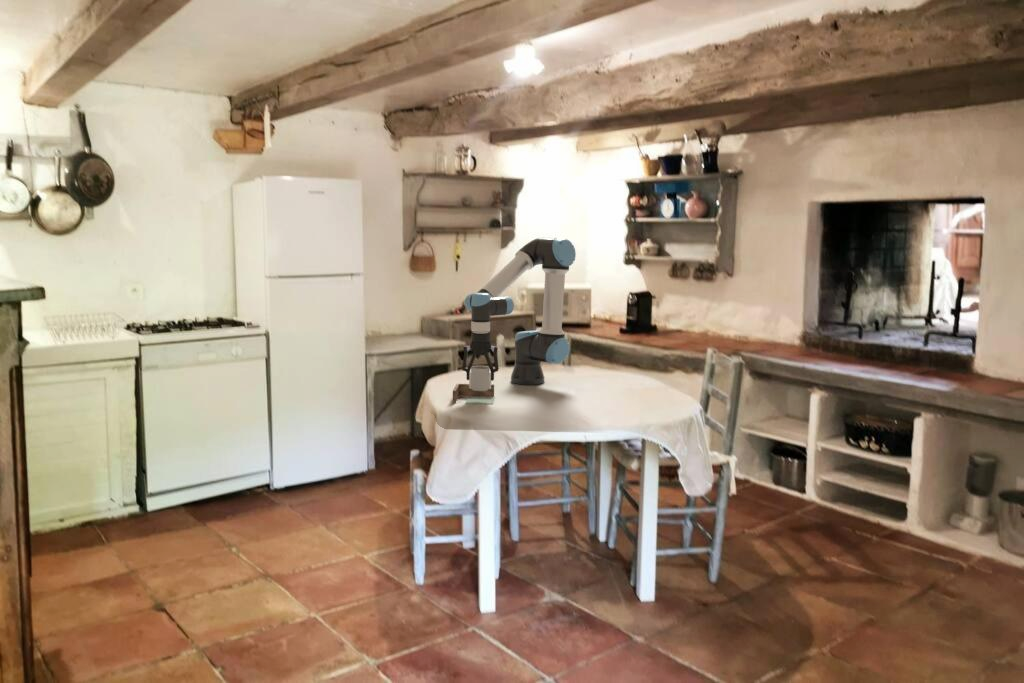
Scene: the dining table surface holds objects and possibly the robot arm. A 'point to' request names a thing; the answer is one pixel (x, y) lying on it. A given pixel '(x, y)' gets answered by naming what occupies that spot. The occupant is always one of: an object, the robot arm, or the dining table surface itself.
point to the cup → (479, 378)
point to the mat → (480, 400)
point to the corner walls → (470, 392)
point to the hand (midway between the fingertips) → (480, 388)
